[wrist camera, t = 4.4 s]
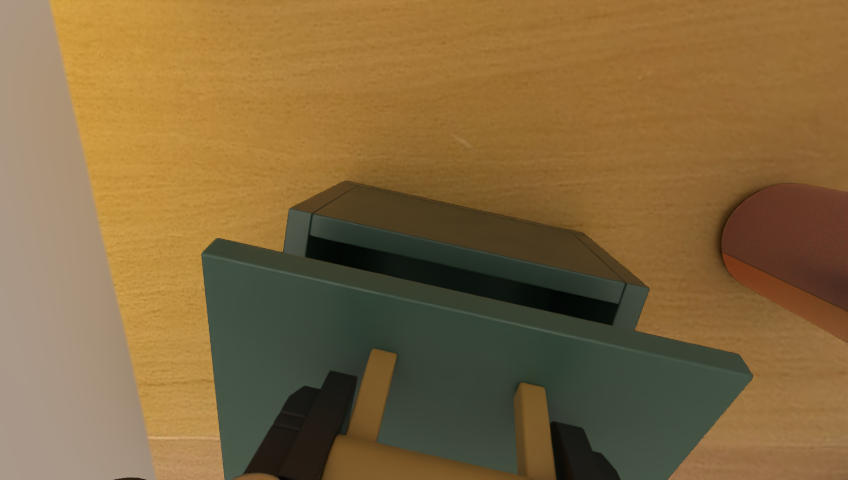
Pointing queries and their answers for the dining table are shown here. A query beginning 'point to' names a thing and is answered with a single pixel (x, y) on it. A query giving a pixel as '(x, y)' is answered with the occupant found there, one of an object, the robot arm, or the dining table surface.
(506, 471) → the lid
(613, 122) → the dining table surface
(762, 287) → the beverage can
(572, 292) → the chest
